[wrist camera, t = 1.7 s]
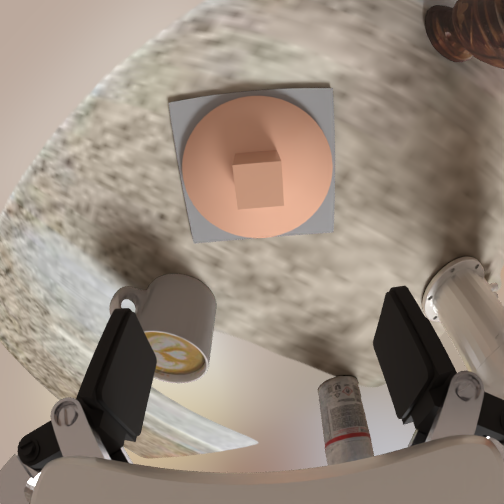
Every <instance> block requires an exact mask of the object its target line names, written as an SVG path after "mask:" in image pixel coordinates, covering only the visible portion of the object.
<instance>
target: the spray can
mask: <svg viewBox="0 0 504 504" xmlns="http://www.w3.org/2000/svg"><path fill="white" fill-rule="evenodd" d="M318 394H319V401H320V410H321V417H322V426H323V434H324V442H325V453H326V458H327V463H328V466H329V465H335V464H340V463H346V462H351V461H356V460H360V459H365V458H369V457H373V456H374V453H373V448H372V443H371V438H370V434H369V429H368V426H367V421H366V417H365V412H364V409H363V405H362V401H361V394H360V390H359V387H358V380H357V379H356V378H355V377H351V376H337V377H334V378H331V379H329V380H326V381H325V382H323V383H322V384H321V385H320V387H319V388H318Z"/></svg>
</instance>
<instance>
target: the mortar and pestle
mask: <svg viewBox="0 0 504 504" xmlns="http://www.w3.org/2000/svg"><path fill="white" fill-rule="evenodd" d="M425 22H426V30H427V34H428V37H429V39H430V41H431V43H432V45H433V46H434V48H435V49H436V50H437V51H438V52H439V53H440V54H442V55H443V56H444V57H446V58H447V59H449V60H451V61H454V62H464V61H467V60H469V59H470V58H472V57H473V56H474V57H476V58H477V59H479V60H480V61H483V62H486V63H488V64H490V65H492V66H495V67H499V68H502V69H504V0H458V1H457V2H456V4H455V6H454V8H450V7H447V6H440V5H436V6H433V7H431V8H430V9H429V10H428V11H427V15H426V21H425Z"/></svg>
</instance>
